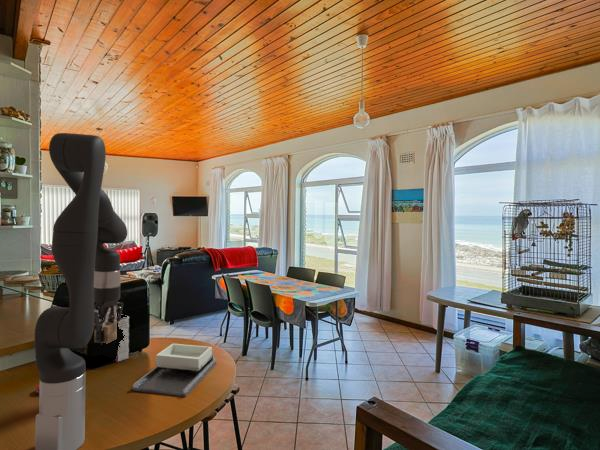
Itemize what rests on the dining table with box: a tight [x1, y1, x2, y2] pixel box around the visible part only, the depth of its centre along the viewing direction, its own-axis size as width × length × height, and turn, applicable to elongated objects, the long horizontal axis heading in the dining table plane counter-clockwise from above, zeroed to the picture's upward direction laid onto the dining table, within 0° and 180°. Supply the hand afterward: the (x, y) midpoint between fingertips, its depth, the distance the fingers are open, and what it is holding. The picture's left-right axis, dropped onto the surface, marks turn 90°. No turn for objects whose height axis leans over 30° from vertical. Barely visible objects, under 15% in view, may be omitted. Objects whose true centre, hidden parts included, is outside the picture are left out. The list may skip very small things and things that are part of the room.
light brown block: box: [93, 322, 117, 344], centre depth 114 cm, size 4×4×5 cm
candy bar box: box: [114, 315, 130, 363], centre depth 140 cm, size 11×5×16 cm, turn 58°
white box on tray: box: [155, 343, 213, 373], centre depth 131 cm, size 12×16×6 cm
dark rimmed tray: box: [131, 353, 217, 397], centre depth 126 cm, size 25×18×4 cm
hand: (105, 339), depth 114 cm, fingers closed on light brown block, 4 cm apart
